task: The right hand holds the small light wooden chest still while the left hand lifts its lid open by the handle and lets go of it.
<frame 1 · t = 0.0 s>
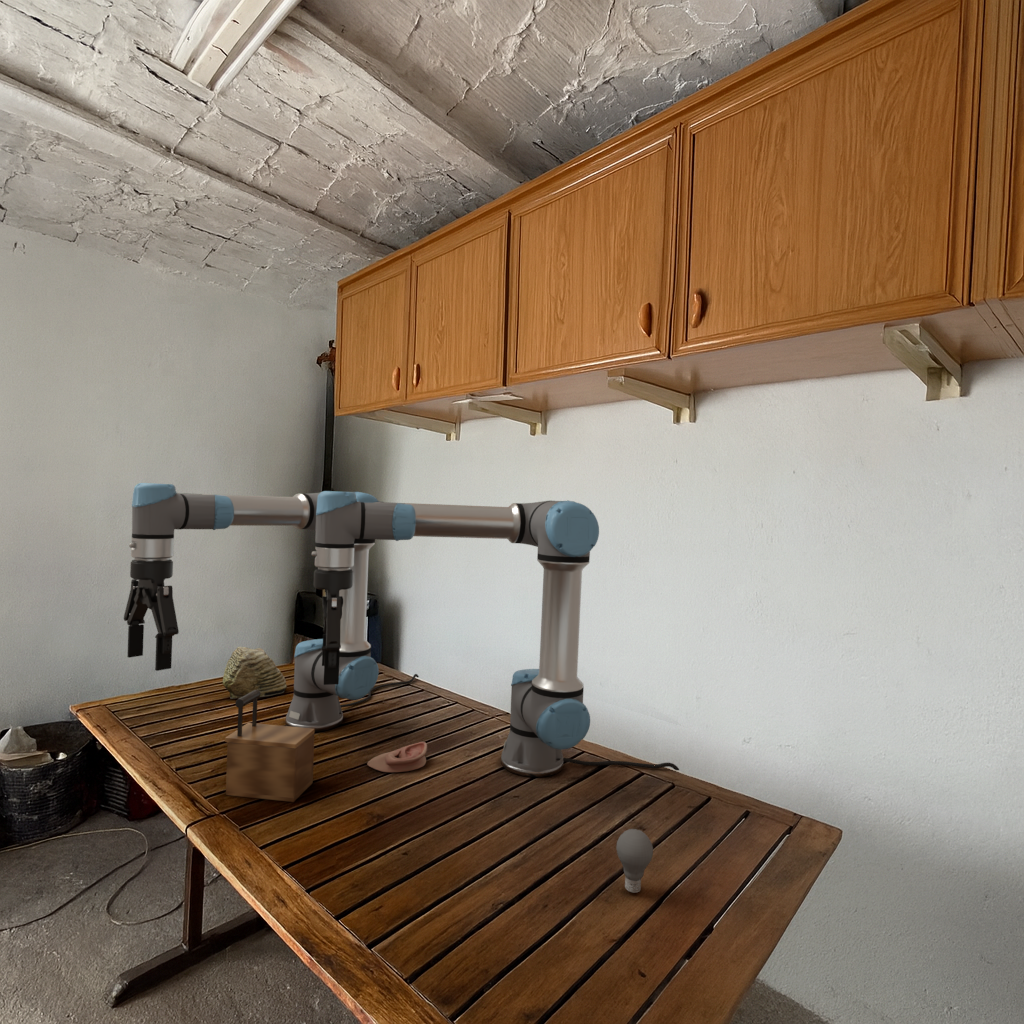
left hand: (148, 662, 129), 28 cm above the table, tool pointing down, fingers open, 13 cm apart
right hand: (329, 674, 127), 28 cm above the table, tool pointing down, fingers open, 13 cm apart
lid: (271, 716, 136), point 16 cm above the table, hinge at 0.0°
chest: (270, 788, 136), on the table
fossil: (254, 694, 198), on the table
light bulb: (632, 891, 106), on the table
anatomical model: (397, 763, 152), on the table
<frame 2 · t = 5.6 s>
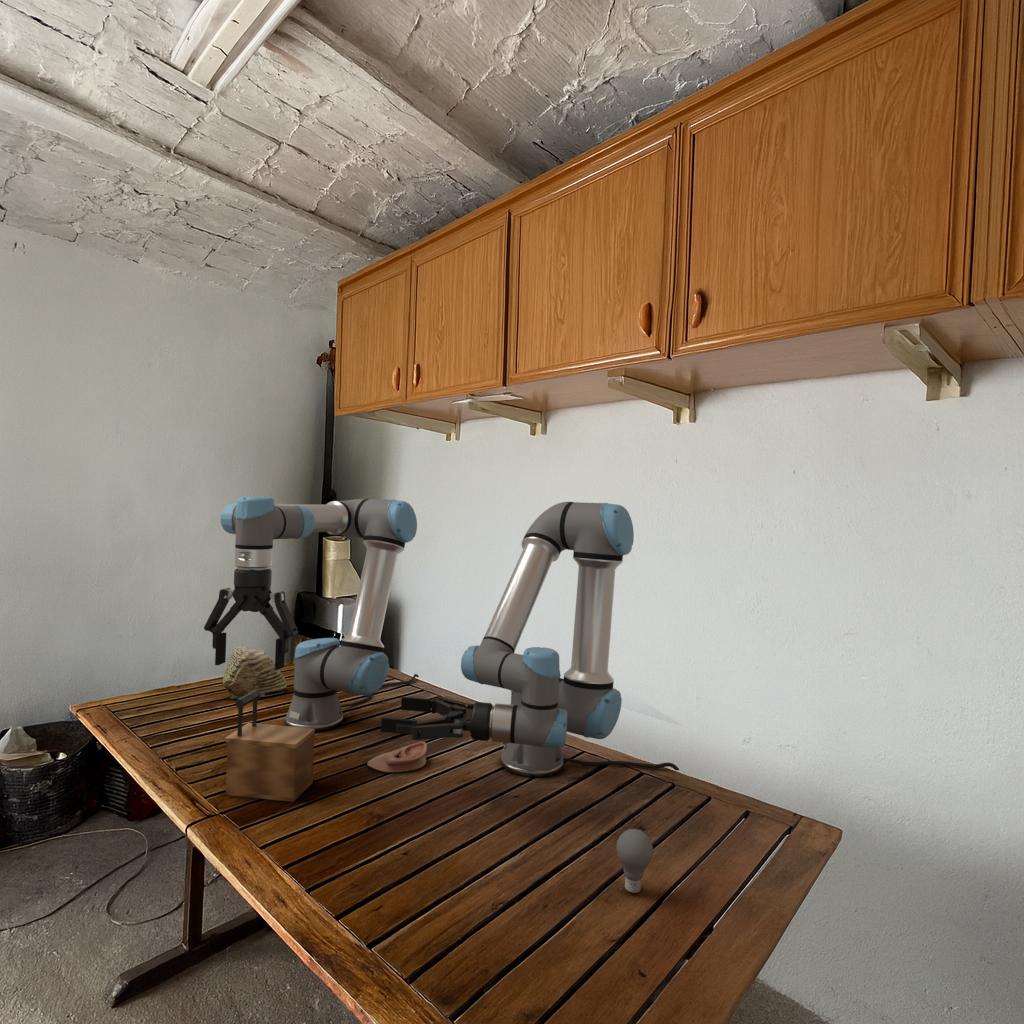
left hand: (249, 666, 137), 26 cm above the table, tool pointing down, fingers open, 13 cm apart
right hand: (392, 713, 133), 19 cm above the table, tool horizontal, fingers open, 13 cm apart
nothing on the table moved.
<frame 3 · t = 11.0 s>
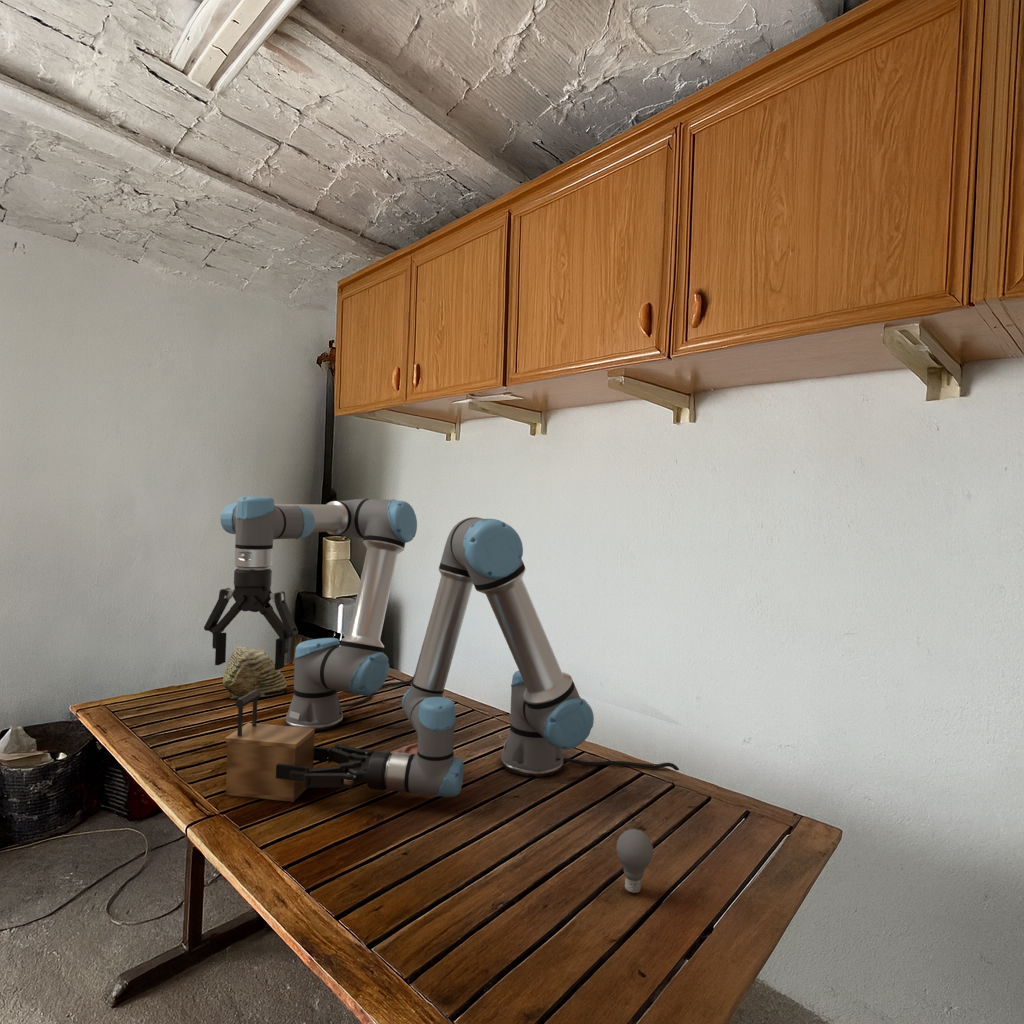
left hand: (249, 666, 137), 26 cm above the table, tool pointing down, fingers open, 13 cm apart
right hand: (288, 761, 136), 6 cm above the table, tool horizontal, fingers closed on chest, 9 cm apart
chest: (270, 788, 136), on the table, touching right hand
everything else where it was.
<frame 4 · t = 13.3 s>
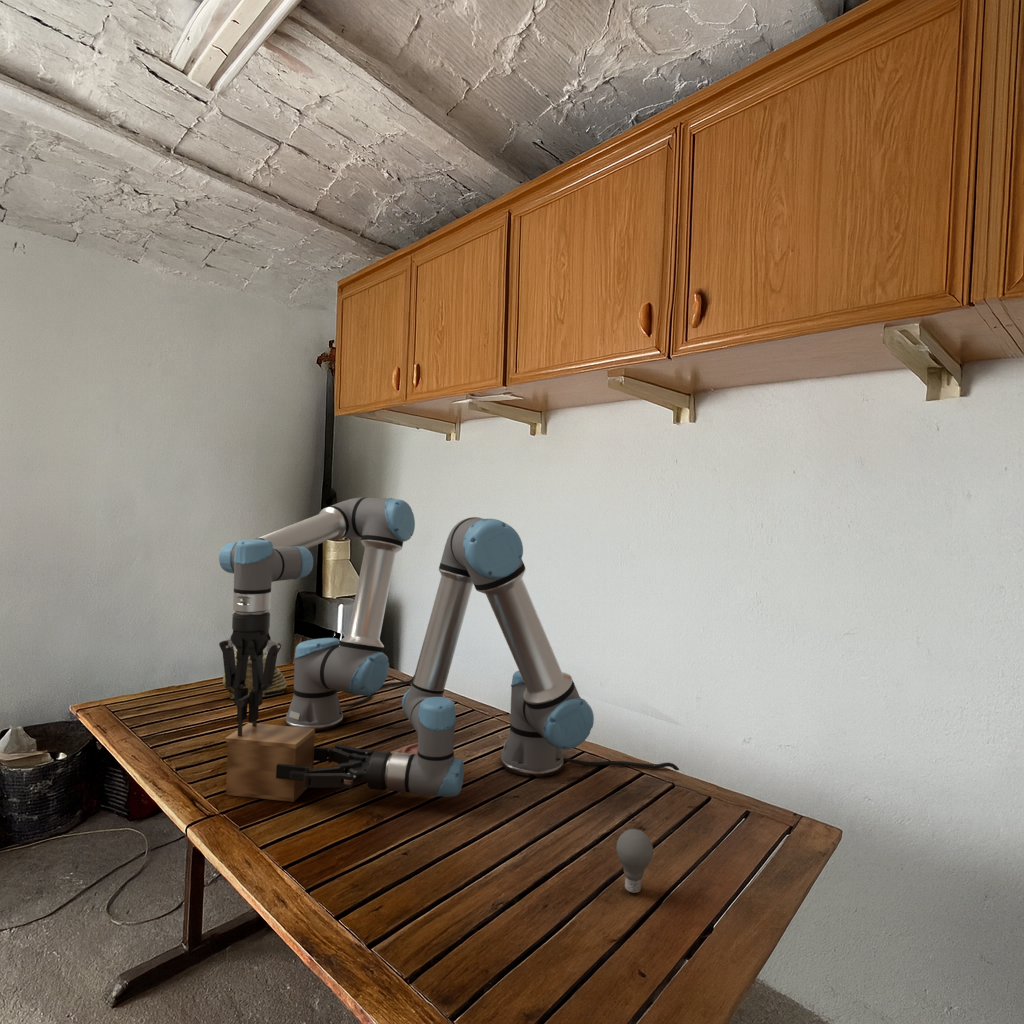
left hand: (247, 719, 137), 14 cm above the table, tool pointing down, fingers closed on lid, 2 cm apart
right hand: (288, 761, 136), 6 cm above the table, tool horizontal, fingers closed on chest, 9 cm apart
lid: (271, 716, 136), point 16 cm above the table, hinge at -0.1°, touching left hand
chest: (270, 788, 136), on the table, touching right hand
everything else where it was.
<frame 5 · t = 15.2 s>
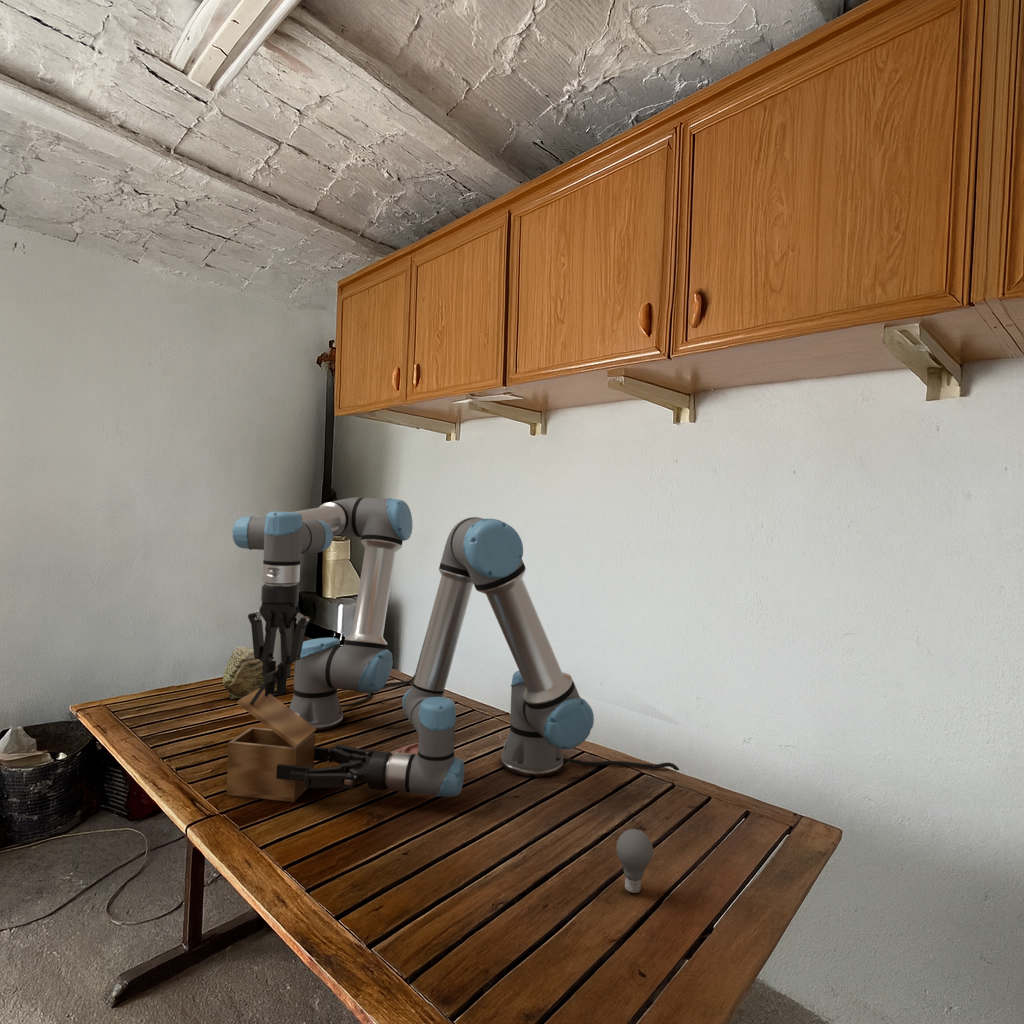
left hand: (275, 692, 136), 21 cm above the table, tool pointing down, fingers closed on lid, 2 cm apart
right hand: (288, 761, 136), 6 cm above the table, tool horizontal, fingers closed on chest, 9 cm apart
lid: (287, 701, 136), point 19 cm above the table, hinge at 32.1°, touching left hand
chest: (271, 788, 136), on the table, touching right hand
everything else where it was.
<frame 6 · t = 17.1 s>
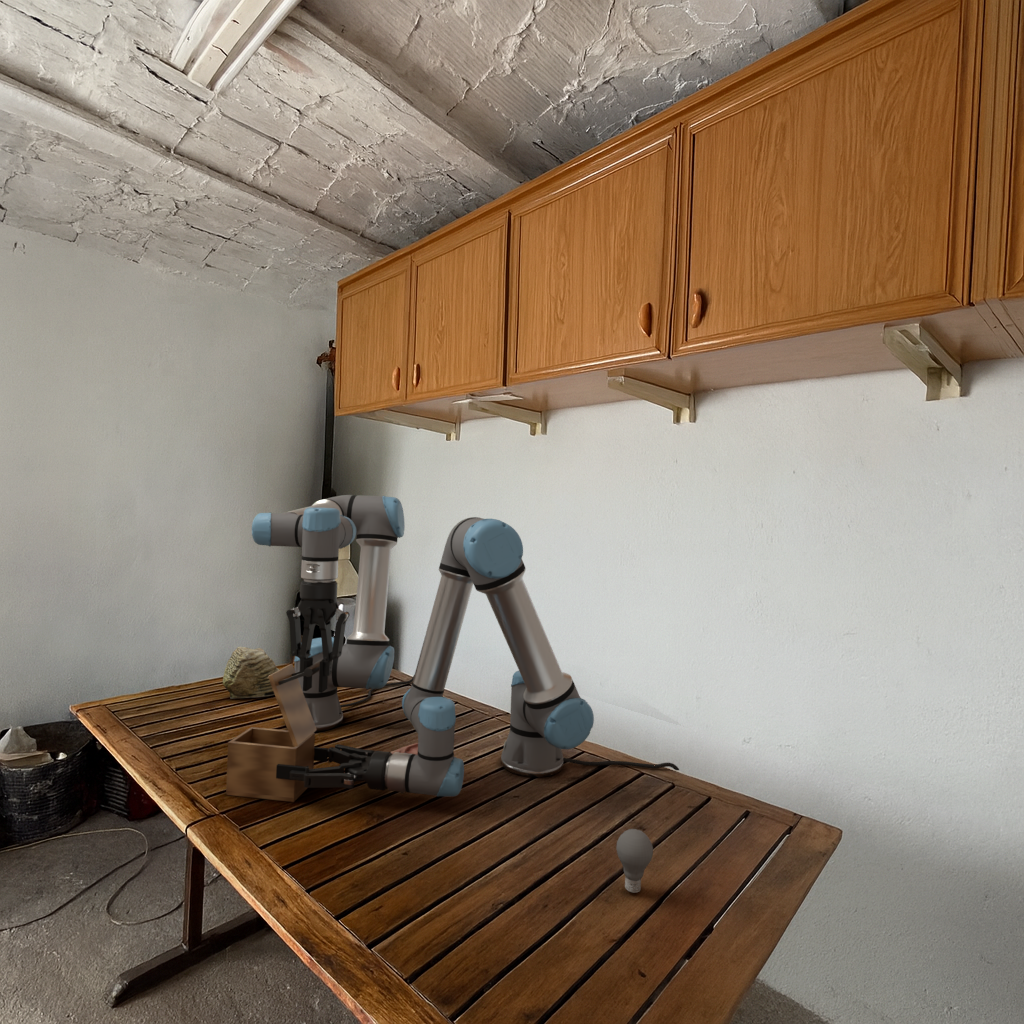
left hand: (315, 689, 135), 22 cm above the table, tool pointing down, fingers open, 3 cm apart
right hand: (288, 761, 136), 6 cm above the table, tool horizontal, fingers closed on chest, 9 cm apart
lid: (309, 697, 135), point 20 cm above the table, hinge at 66.0°
chest: (270, 788, 136), on the table, touching right hand
everything else where it was.
when the right hand's fingers open (6 cm above the table, at t = 20.9 s): chest stays where it is, on the table.
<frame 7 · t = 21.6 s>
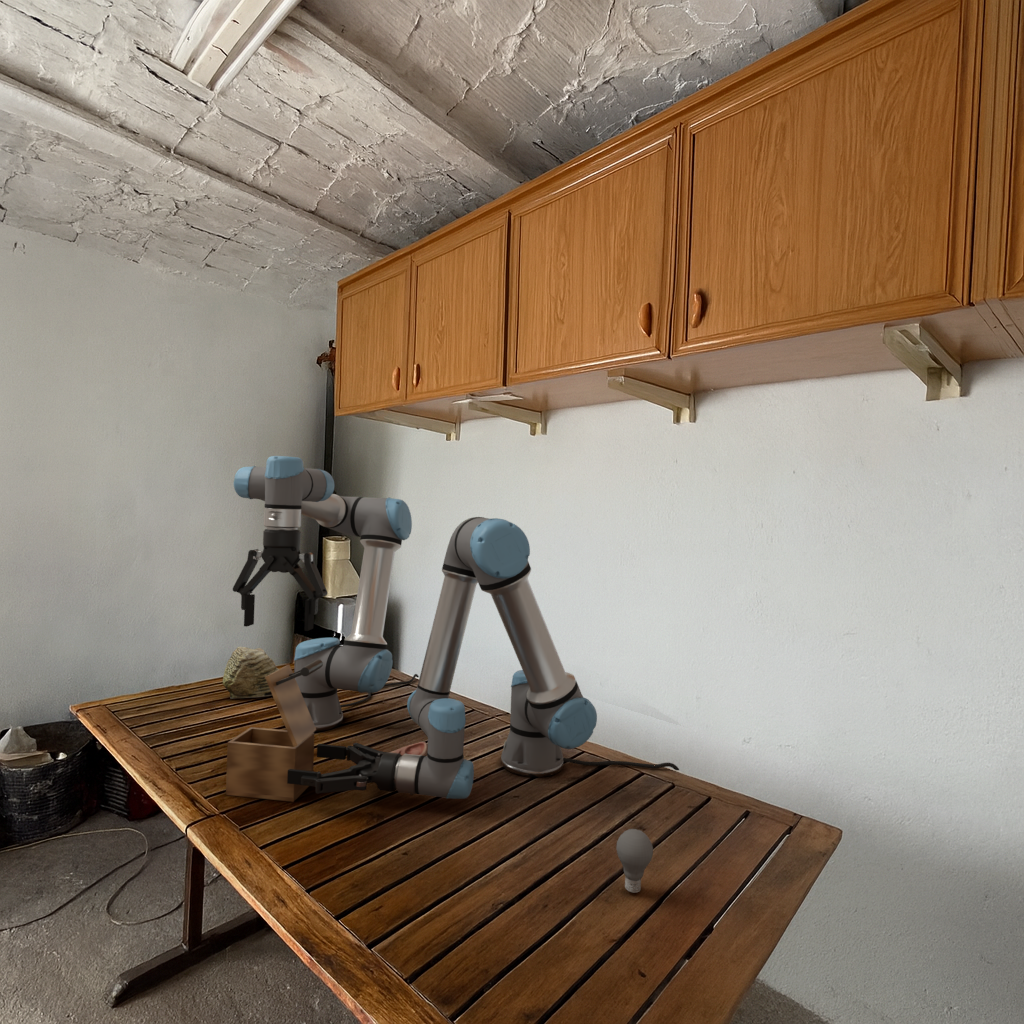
left hand: (278, 627, 136), 35 cm above the table, tool pointing down, fingers open, 13 cm apart
right hand: (303, 762, 136), 6 cm above the table, tool horizontal, fingers open, 13 cm apart
lid: (307, 697, 135), point 20 cm above the table, hinge at 64.0°
chest: (270, 788, 137), on the table
everything else where it was.
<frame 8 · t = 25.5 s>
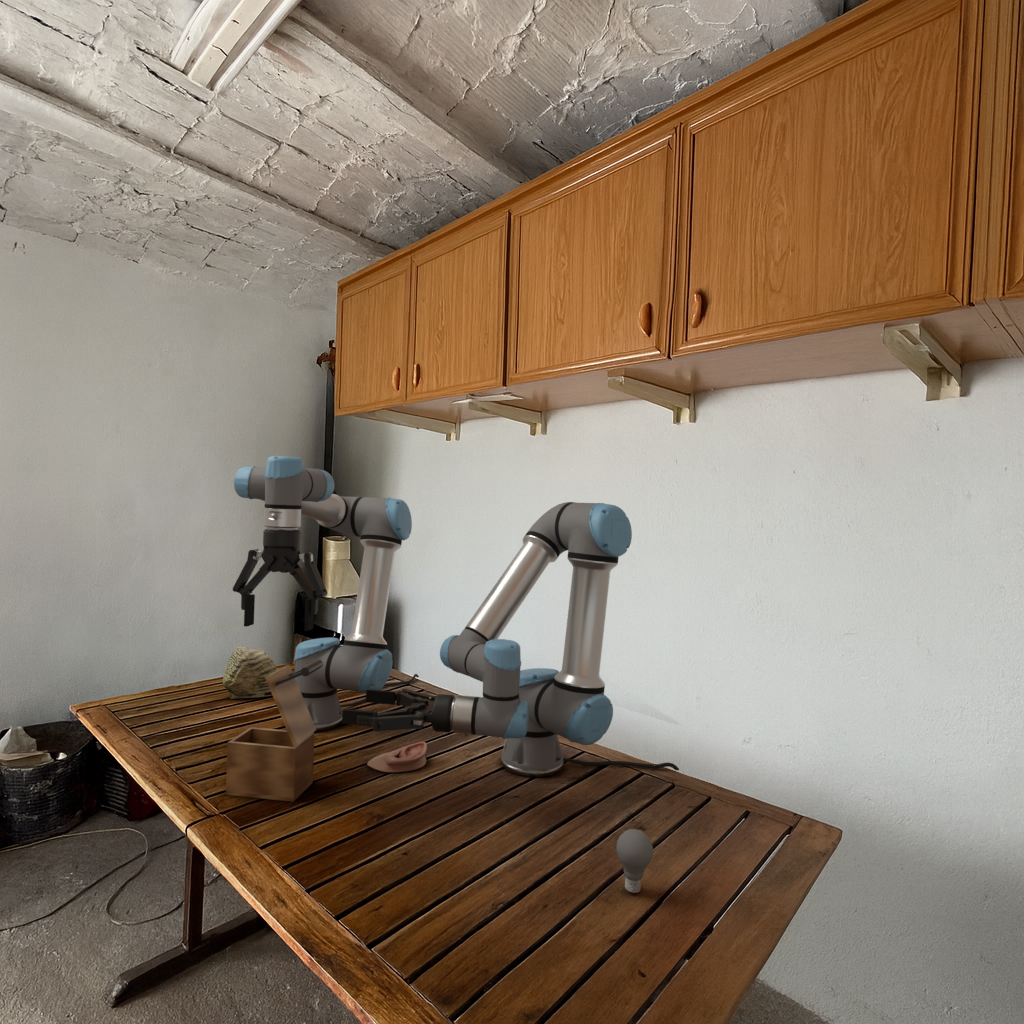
left hand: (278, 627, 136), 35 cm above the table, tool pointing down, fingers open, 13 cm apart
right hand: (355, 705, 134), 20 cm above the table, tool horizontal, fingers open, 13 cm apart
nothing on the table moved.
at the end: lid at +64° (first picture: +0°); the left hand is holding nothing; the right hand is holding nothing; chest tilted 0°; chest never tilted more than 1° during the clip; chest moved 0.1 cm from its start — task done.
